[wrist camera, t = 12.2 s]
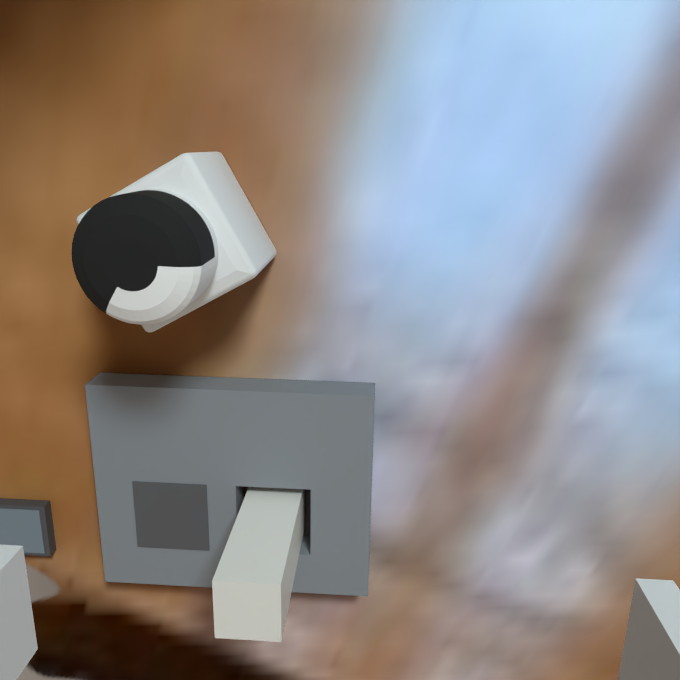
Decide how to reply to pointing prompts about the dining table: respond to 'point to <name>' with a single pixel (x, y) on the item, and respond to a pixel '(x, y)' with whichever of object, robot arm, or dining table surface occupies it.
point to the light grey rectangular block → (259, 565)
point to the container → (169, 242)
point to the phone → (27, 526)
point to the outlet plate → (228, 472)
